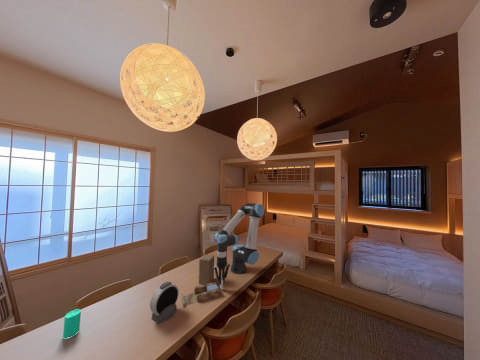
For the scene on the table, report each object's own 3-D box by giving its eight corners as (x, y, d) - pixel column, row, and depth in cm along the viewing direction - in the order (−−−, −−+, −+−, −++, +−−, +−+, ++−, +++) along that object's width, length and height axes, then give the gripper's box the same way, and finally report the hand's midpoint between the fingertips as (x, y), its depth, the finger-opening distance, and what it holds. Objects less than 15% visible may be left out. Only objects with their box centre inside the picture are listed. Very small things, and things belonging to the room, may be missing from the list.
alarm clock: (156, 327, 88) (157, 293, 90) (146, 319, 94) (148, 287, 95) (181, 309, 102) (182, 279, 103) (171, 303, 107) (172, 275, 109)
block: (215, 289, 122) (215, 283, 123) (218, 293, 117) (218, 288, 117) (206, 291, 119) (206, 286, 120) (208, 296, 114) (208, 290, 114)
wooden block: (209, 286, 127) (210, 260, 129) (198, 284, 129) (198, 259, 131) (214, 279, 137) (214, 255, 139) (203, 278, 139) (203, 254, 141)
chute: (215, 288, 125) (215, 281, 125) (219, 296, 115) (220, 289, 115) (181, 297, 114) (181, 290, 114) (183, 307, 104) (183, 299, 104)
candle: (70, 329, 87) (72, 306, 87) (82, 329, 87) (84, 305, 88) (59, 340, 81) (61, 314, 81) (72, 339, 81) (74, 314, 82)
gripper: (228, 252, 129) (227, 283, 128) (212, 255, 124) (211, 287, 122) (231, 256, 123) (231, 288, 121) (215, 259, 117) (214, 293, 115)
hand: (221, 288), depth 121 cm, fingers closed
